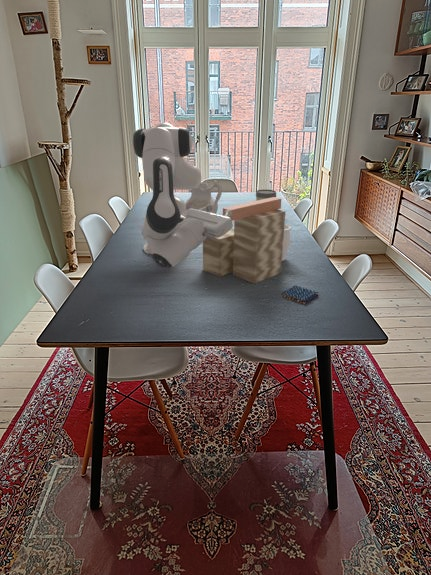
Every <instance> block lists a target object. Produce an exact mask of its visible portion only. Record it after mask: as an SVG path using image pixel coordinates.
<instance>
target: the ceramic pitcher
mask: <svg viewBox="0 0 431 575" xmlns="http://www.w3.org/2000/svg"><path fill="white" fill-rule="evenodd" d="M212 181H213V182H212V184H210V185H209V183H207V182H202V181H201V182H200V185H199V186H198V187H197V188H194V189H190V191H191V195H190V197H189V198H188V199H187V200H186V201H185V204H186V210H188V209H191V208H193V209H197V210H199V209H201V208H203V207H206V206H207V205H211V206H212V210H211V211H210V212H209V213H213V214H217V213H218V210H219V209H218V208H219V204H218V203H219V201H220V198H221V197H222V194H223V193H222V191H223V188H222V185H221V183H220V181H219V180H218V179H214V180H212ZM214 188H217V191H218V192H217V195H216V197H215V198H213V196H212V190H213V189H214Z"/></svg>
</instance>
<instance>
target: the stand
mask: <svg viewBox="0 0 431 575" xmlns="http://www.w3.org/2000/svg"><path fill="white" fill-rule="evenodd" d="M286 213H287V212H286V210H285V211H284V210H281V209H277V210H273V211H269V212H265V213H261V214H257V215H253V216H249V217H245V218H241V219H237V220H233V222H234V224H233V227H234V228H233V231H234V255H233V272H232V275H233V276H235V277H237V278H240V279H243V280H245V281H246V282H247V281H248V282H249V283H252V284H257V283H259V282H261V281H264V280H267V279H269V278H272V277H274V276H277V275H280V274H281V272H282V262H283V261H282V250H283V237H284V225H286V224H285V223H286V222H285V221H286Z"/></svg>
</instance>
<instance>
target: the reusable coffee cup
mask: <svg viewBox="0 0 431 575" xmlns="http://www.w3.org/2000/svg"><path fill="white" fill-rule="evenodd" d="M255 197H256V200H255V201H258V200H262V199H267V198H271V197H276V198H277V191H276V190H273V189H257V190H256V192H255Z"/></svg>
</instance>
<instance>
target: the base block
mask: <svg viewBox="0 0 431 575" xmlns="http://www.w3.org/2000/svg"><path fill="white" fill-rule="evenodd" d="M233 255H234V229H231V230H229V231H228V232H227V233H225V234H224V235H223V236H221V237H218V238H210V237H207V238H206V240H205V241H203V242H202V270H203V271H205V272H207V273H209V274H212V275H214V276H216V277H223V276H225V275H228V274H231V273H233Z"/></svg>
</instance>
